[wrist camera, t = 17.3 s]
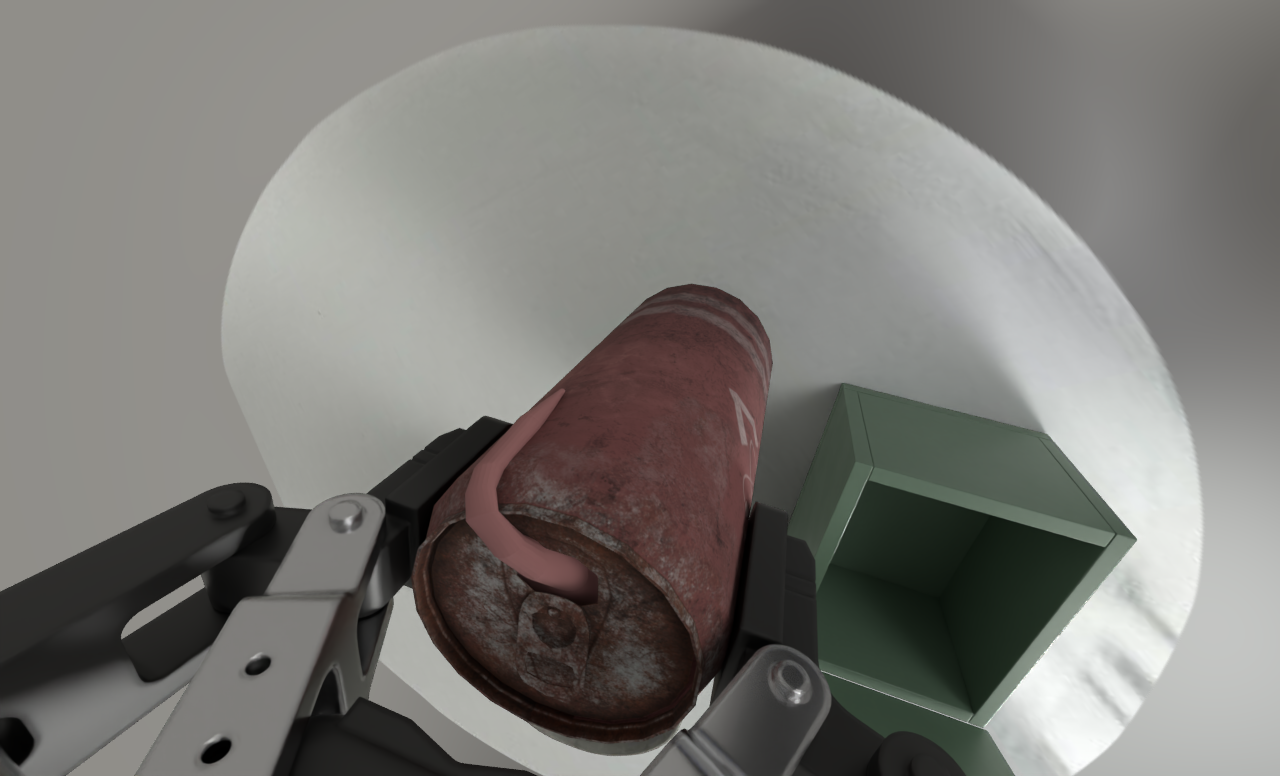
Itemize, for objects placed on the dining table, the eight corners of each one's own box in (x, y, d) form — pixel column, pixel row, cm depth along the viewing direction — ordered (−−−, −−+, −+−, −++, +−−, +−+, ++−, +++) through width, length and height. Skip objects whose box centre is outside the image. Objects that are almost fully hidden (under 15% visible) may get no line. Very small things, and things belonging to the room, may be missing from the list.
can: (727, 246, 19) (582, 429, 7) (797, 391, 20) (786, 757, 8) (597, 314, 21) (321, 535, 9) (668, 438, 23) (512, 766, 11)
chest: (842, 382, 38) (855, 461, 28) (1048, 433, 35) (1138, 539, 26) (779, 548, 46) (773, 653, 36) (943, 600, 43) (983, 728, 34)
